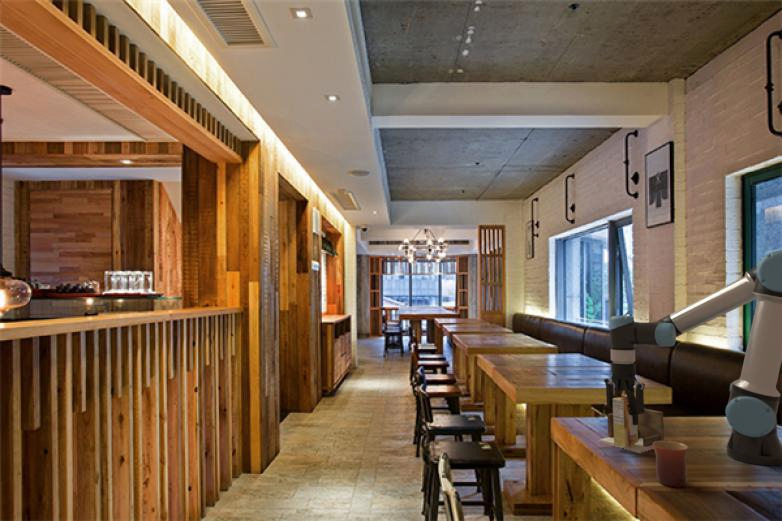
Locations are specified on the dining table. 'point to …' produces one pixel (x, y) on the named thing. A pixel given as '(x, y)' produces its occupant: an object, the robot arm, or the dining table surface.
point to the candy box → (622, 422)
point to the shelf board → (635, 447)
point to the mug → (671, 463)
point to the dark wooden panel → (610, 425)
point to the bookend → (650, 427)
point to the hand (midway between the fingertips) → (625, 432)
